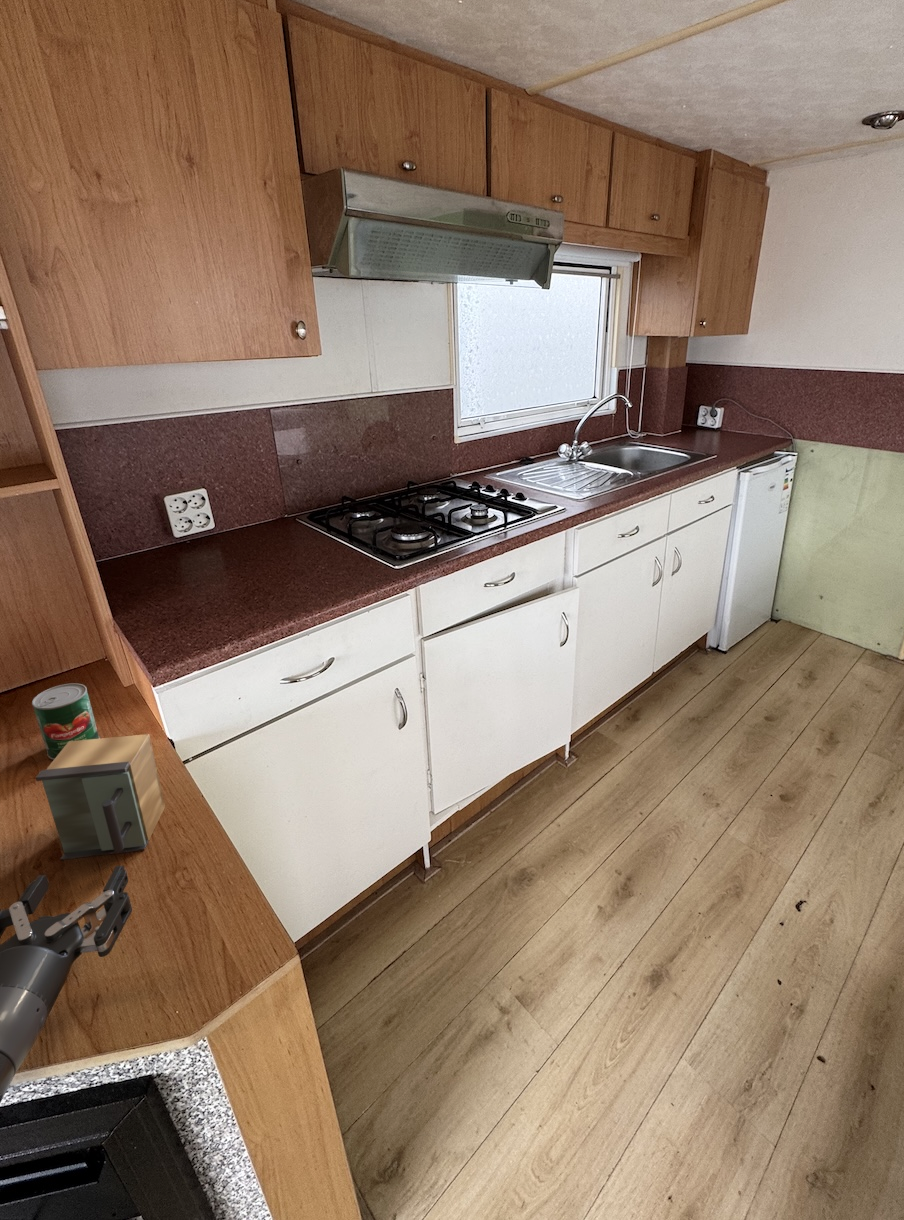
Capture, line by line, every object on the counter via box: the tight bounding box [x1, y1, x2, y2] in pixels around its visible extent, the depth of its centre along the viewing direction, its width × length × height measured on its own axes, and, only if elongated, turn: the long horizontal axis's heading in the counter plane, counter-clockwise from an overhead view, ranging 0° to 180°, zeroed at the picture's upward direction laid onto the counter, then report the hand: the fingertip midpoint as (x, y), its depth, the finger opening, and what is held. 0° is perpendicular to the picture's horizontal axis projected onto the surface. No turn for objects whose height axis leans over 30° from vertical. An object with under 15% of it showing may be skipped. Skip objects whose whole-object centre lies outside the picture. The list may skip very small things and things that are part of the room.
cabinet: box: [35, 733, 166, 861], centre depth 85 cm, size 11×9×15 cm
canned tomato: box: [31, 682, 101, 760], centre depth 104 cm, size 8×8×11 cm
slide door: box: [82, 772, 146, 852], centre depth 80 cm, size 6×5×13 cm
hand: (83, 875), depth 71 cm, fingers open, 8 cm apart
